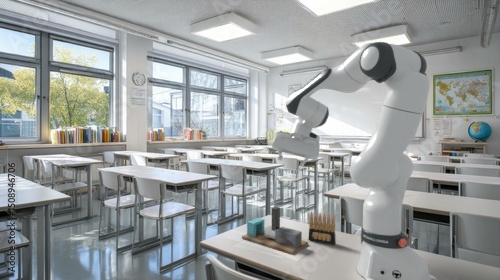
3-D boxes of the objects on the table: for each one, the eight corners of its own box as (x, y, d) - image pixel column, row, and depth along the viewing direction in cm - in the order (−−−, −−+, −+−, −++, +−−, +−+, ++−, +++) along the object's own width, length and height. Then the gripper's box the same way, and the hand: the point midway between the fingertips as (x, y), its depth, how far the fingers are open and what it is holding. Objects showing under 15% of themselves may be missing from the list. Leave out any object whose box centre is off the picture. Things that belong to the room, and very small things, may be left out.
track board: (308, 244, 117) (308, 229, 116) (292, 254, 107) (292, 238, 107) (259, 230, 132) (259, 217, 132) (241, 238, 123) (241, 224, 123)
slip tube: (298, 242, 114) (298, 211, 114) (294, 244, 112) (294, 213, 111) (269, 234, 123) (269, 205, 123) (264, 236, 121) (264, 206, 120)
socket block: (264, 232, 128) (264, 219, 127) (253, 237, 122) (253, 223, 122) (257, 230, 130) (257, 217, 130) (247, 235, 124) (247, 221, 124)
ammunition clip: (335, 243, 118) (336, 214, 117) (334, 245, 116) (335, 215, 116) (309, 239, 123) (309, 210, 122) (308, 240, 121) (308, 211, 120)
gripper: (276, 126, 129) (266, 152, 122) (323, 137, 123) (314, 165, 116) (277, 134, 134) (267, 159, 128) (322, 144, 128) (314, 172, 122)
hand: (290, 162), depth 122 cm, fingers open, 8 cm apart
